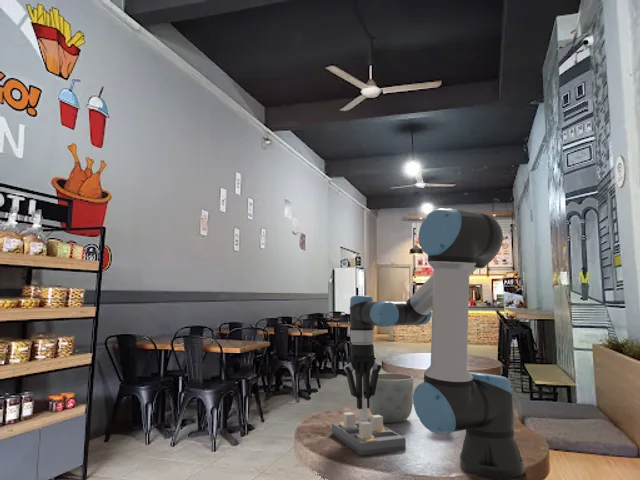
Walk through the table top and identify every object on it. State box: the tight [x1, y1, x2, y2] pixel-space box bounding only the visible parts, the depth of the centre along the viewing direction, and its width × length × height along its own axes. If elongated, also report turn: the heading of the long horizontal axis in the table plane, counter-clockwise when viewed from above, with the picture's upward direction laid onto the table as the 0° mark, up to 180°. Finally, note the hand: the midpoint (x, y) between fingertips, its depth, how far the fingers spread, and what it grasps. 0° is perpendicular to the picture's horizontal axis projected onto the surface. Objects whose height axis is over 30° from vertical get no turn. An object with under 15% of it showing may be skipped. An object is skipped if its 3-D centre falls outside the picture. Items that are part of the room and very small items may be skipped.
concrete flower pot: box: [368, 372, 414, 424], centre depth 161 cm, size 17×17×15 cm
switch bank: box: [331, 419, 407, 456], centre depth 135 cm, size 22×14×3 cm, turn 20°
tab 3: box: [370, 414, 385, 432], centre depth 137 cm, size 3×4×6 cm
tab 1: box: [341, 411, 357, 429], centre depth 140 cm, size 3×4×6 cm
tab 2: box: [357, 421, 375, 440], centre depth 129 cm, size 3×4×6 cm
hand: (363, 419), depth 142 cm, fingers closed
